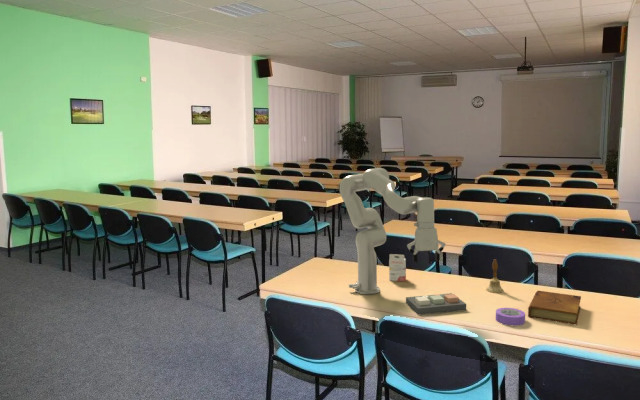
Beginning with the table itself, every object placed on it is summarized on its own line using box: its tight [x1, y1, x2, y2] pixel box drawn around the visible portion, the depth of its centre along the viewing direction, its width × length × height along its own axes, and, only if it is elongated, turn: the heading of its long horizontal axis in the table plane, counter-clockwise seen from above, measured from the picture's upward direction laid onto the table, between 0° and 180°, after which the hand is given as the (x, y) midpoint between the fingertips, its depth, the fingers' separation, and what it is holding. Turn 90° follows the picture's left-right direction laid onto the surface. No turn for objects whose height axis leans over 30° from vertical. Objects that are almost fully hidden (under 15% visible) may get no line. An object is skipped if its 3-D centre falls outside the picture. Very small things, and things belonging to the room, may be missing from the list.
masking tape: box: [495, 307, 526, 327], centre depth 211 cm, size 12×12×4 cm
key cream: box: [414, 296, 430, 306], centre depth 225 cm, size 5×5×2 cm
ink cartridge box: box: [388, 253, 407, 282], centre depth 269 cm, size 9×5×15 cm, turn 73°
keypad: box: [405, 292, 467, 316], centre depth 228 cm, size 23×15×4 cm, turn 100°
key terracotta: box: [444, 293, 460, 303], centre depth 228 cm, size 5×5×2 cm
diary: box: [527, 290, 582, 326], centre depth 219 cm, size 23×19×6 cm
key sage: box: [429, 294, 444, 304], centre depth 227 cm, size 5×5×2 cm
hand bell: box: [485, 258, 504, 294], centre depth 248 cm, size 8×8×16 cm
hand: (426, 262), depth 226 cm, fingers open, 9 cm apart
